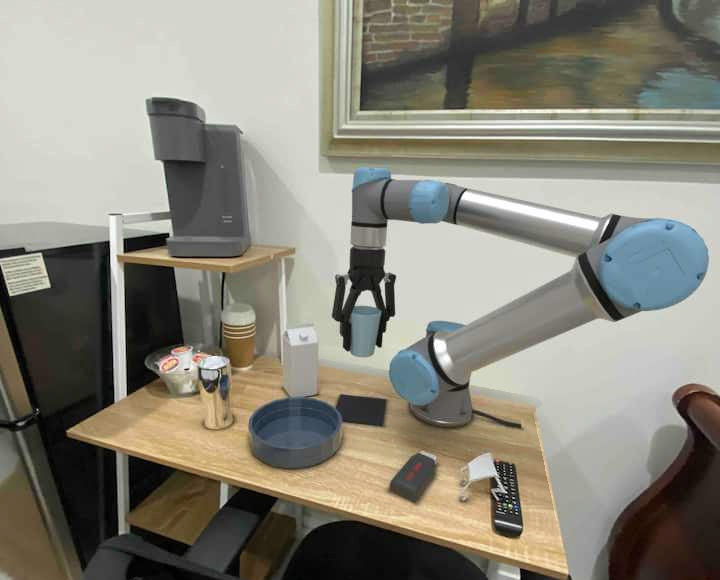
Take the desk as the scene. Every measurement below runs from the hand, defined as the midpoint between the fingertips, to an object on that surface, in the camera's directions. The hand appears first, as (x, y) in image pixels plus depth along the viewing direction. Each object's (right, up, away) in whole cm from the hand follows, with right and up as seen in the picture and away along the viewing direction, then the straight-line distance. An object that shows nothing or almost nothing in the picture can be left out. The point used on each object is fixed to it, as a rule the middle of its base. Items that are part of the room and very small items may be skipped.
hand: (362, 347), depth 90 cm
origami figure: (+22, -26, -17) cm, 38 cm away
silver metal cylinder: (-33, -17, -1) cm, 37 cm away
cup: (0, -2, +1) cm, 2 cm away
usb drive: (+10, -25, -15) cm, 31 cm away
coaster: (-1, -16, +6) cm, 17 cm away
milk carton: (-17, -12, +14) cm, 25 cm away
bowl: (-14, -20, -6) cm, 25 cm away
